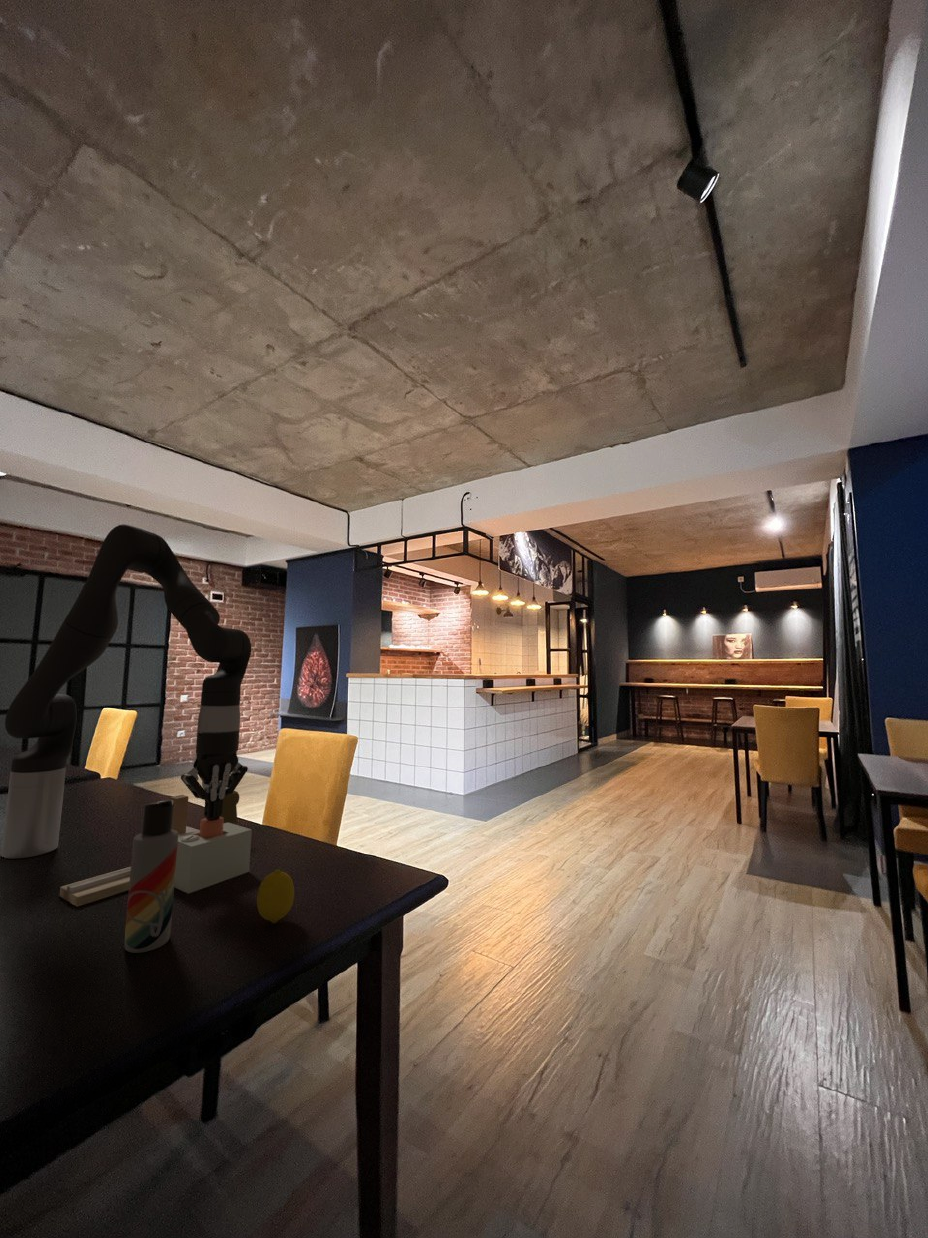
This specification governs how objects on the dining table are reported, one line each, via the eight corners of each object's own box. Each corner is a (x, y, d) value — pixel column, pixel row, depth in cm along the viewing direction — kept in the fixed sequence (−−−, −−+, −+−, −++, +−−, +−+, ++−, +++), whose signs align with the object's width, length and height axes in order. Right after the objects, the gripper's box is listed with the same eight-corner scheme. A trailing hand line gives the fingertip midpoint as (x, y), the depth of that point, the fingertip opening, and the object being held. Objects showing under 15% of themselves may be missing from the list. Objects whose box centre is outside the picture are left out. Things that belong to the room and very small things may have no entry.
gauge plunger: (193, 852, 95) (196, 820, 96) (213, 846, 98) (216, 815, 99) (205, 857, 93) (208, 823, 94) (225, 851, 96) (228, 818, 97)
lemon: (300, 918, 80) (302, 866, 81) (276, 935, 75) (279, 879, 76) (271, 912, 82) (274, 861, 83) (247, 928, 77) (250, 873, 78)
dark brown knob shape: (227, 845, 112) (230, 795, 114) (203, 843, 114) (207, 793, 115) (244, 837, 118) (247, 789, 119) (221, 834, 119) (225, 787, 121)
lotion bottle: (135, 958, 68) (148, 807, 70) (116, 946, 71) (129, 801, 73) (178, 940, 73) (188, 799, 75) (157, 929, 76) (168, 794, 78)
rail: (59, 896, 86) (62, 868, 87) (200, 853, 107) (202, 831, 108) (76, 906, 82) (79, 878, 83) (219, 860, 103) (221, 838, 104)
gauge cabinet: (164, 882, 92) (168, 835, 93) (225, 862, 102) (228, 820, 103) (188, 893, 88) (192, 844, 89) (249, 871, 98) (251, 827, 99)
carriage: (148, 855, 98) (153, 798, 99) (184, 845, 104) (188, 791, 105) (164, 862, 95) (169, 802, 96) (200, 851, 101) (204, 795, 102)
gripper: (238, 724, 106) (232, 809, 104) (174, 730, 95) (167, 824, 93) (260, 727, 102) (254, 815, 100) (196, 733, 91) (189, 832, 89)
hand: (212, 819), depth 96 cm, fingers closed
